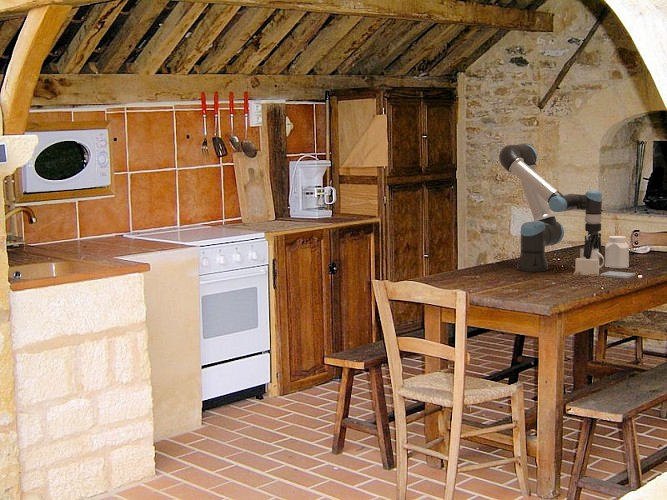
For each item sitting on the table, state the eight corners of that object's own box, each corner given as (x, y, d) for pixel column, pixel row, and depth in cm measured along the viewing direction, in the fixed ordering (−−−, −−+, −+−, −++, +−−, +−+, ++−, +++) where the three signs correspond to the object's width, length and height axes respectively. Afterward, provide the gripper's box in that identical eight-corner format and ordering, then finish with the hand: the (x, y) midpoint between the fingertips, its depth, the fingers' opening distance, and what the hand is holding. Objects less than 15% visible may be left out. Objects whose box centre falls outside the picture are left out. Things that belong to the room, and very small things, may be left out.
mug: (599, 273, 452) (599, 251, 450) (576, 270, 460) (577, 249, 458) (607, 271, 458) (608, 249, 457) (585, 268, 466) (585, 247, 465)
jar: (602, 267, 471) (602, 237, 469) (608, 264, 479) (609, 235, 477) (625, 268, 465) (625, 238, 463) (631, 266, 472) (631, 236, 471)
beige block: (572, 275, 448) (572, 259, 447) (577, 273, 452) (577, 258, 451) (594, 277, 442) (594, 261, 441) (599, 275, 445) (599, 259, 444)
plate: (599, 276, 444) (599, 274, 444) (609, 273, 452) (609, 271, 452) (626, 278, 436) (626, 276, 435) (635, 275, 444) (635, 273, 444)
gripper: (591, 225, 445) (590, 272, 448) (609, 221, 462) (608, 266, 465) (576, 224, 450) (575, 271, 453) (595, 220, 466) (594, 265, 469)
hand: (592, 269), depth 459 cm, fingers closed on mug, 9 cm apart
